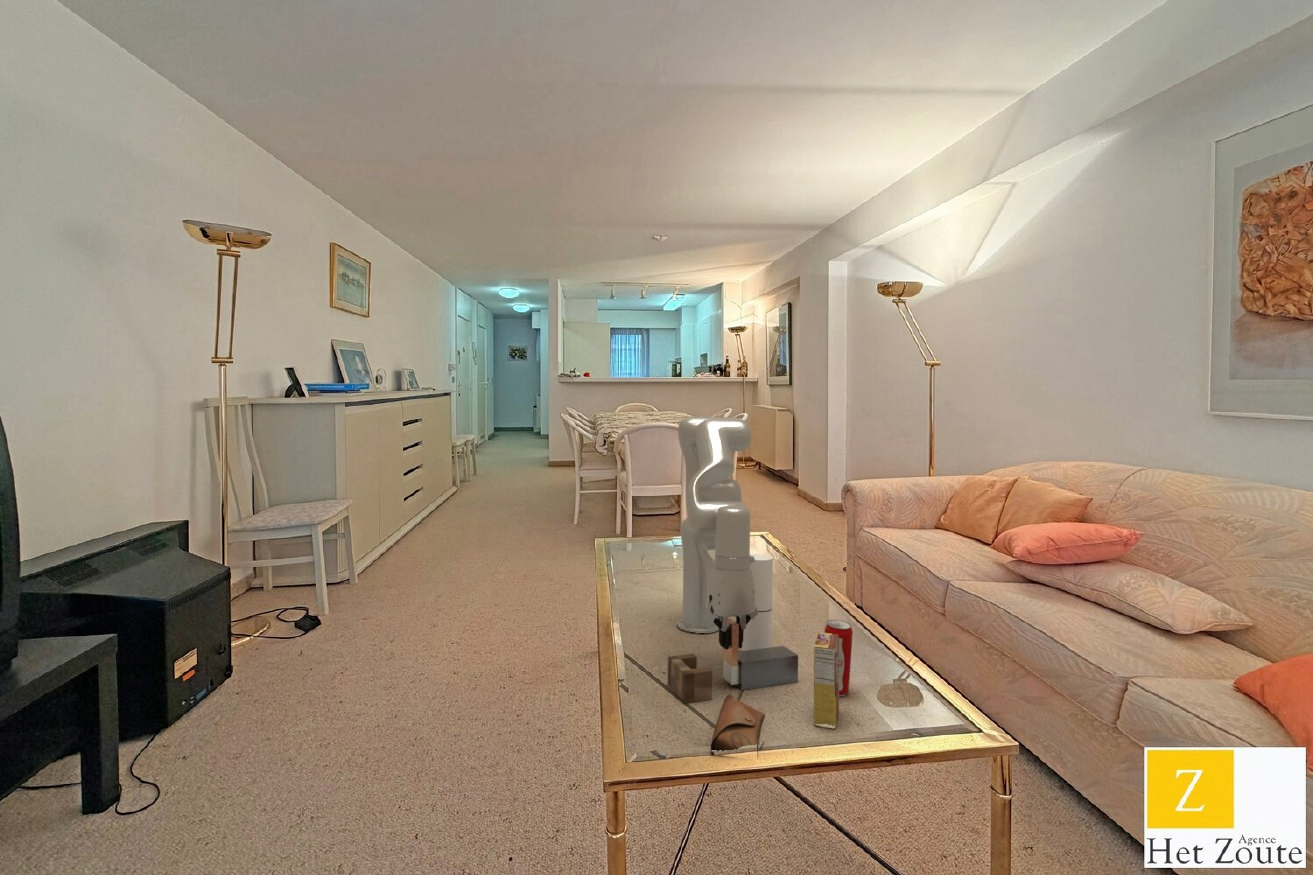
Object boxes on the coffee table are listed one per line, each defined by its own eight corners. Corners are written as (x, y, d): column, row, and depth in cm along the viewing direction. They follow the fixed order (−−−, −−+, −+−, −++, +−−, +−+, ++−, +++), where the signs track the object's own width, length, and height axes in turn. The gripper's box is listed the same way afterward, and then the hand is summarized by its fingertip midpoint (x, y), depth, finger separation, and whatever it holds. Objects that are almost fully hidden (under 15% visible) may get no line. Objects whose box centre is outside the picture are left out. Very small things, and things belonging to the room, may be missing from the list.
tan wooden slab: (723, 677, 130) (724, 619, 130) (778, 669, 135) (778, 613, 135) (731, 684, 126) (732, 624, 126) (787, 676, 131) (788, 618, 131)
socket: (667, 683, 129) (668, 656, 129) (692, 680, 131) (693, 653, 131) (685, 703, 119) (685, 674, 119) (711, 699, 121) (712, 670, 121)
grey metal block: (729, 679, 132) (729, 652, 132) (783, 671, 136) (783, 645, 136) (741, 690, 126) (742, 662, 126) (797, 681, 131) (798, 655, 131)
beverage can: (829, 683, 130) (830, 616, 130) (857, 692, 125) (858, 623, 125) (815, 691, 126) (816, 621, 126) (843, 701, 121) (844, 629, 121)
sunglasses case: (760, 761, 98) (740, 724, 99) (724, 777, 100) (705, 741, 101) (766, 712, 116) (749, 681, 117) (735, 727, 117) (718, 696, 118)
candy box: (817, 705, 119) (818, 631, 119) (839, 709, 118) (840, 634, 117) (811, 725, 111) (813, 645, 111) (835, 730, 109) (836, 648, 109)
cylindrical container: (771, 665, 140) (772, 560, 140) (741, 662, 141) (742, 559, 141) (771, 654, 147) (772, 555, 147) (742, 651, 148) (744, 553, 148)
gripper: (756, 557, 134) (755, 637, 135) (691, 561, 129) (690, 644, 129) (773, 564, 127) (772, 648, 127) (705, 569, 122) (704, 657, 122)
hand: (731, 645), depth 128 cm, fingers open, 2 cm apart
